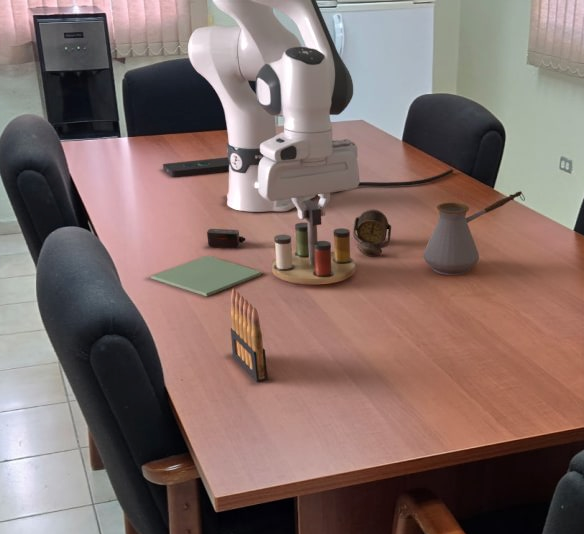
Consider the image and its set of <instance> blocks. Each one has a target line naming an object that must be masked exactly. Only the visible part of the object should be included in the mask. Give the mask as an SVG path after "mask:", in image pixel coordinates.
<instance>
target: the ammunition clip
mask: <svg viewBox="0 0 584 534" xmlns="http://www.w3.org/2000/svg"><path fill="white" fill-rule="evenodd" d="M230 295H231V296H230V306H231V307H230V310H231V311H230V319H231V328H230V339H231V340H230V341H231V349H232V350H231V351H232V358H233V359H234V360H236V362H237V363H238V364H239V365H240V366H241V367H242V368H243V370H244V371H245V372H246V373H247V374H248V375H249V376H250V377H251V378H252V379H253V380H254V381H255V383H259V382H263V381H267V380H268V379H269V377H268V368H267V358H266V357H267V356H266V349H265V348H264V344H263V343H264V342H263V333H262V330H261V322H260V317H259V313H258V310H257V308H256V307H253V304H251V303H249V302H248V300H247V299H245V297H244V296H243V295H240V292H239V291H237V290H236V289H235V288H232V290H231V294H230Z"/></svg>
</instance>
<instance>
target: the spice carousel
mask: <svg viewBox="0 0 584 534" xmlns="http://www.w3.org/2000/svg"><path fill="white" fill-rule="evenodd" d="M317 205H318V204H315V203H314V202H313V200H312V199H310V200H306V201H303V202H302V206H303V208H306V209H308V215H309V218H307V219H305V220H306V222H298V223H296V224H295V225H294V229H295V242H296V243H295V245H296V251H294V252H293V251H292V265H293V266H292V267H291V268H289V269H280V268H277V266H276V258H275V259H274V260H273V261H272V264H271V269H272V270H271V271H272V274H273V275H274V276H275V277H277V278H278V279H279V280H283V281H286V282H287V283H293V284H299V285H300V284H301V285H326V284H333V283H338V282H341V281H345V280H347V279H348V278H351V277H352V276H353V275H354V274H355V273H356V262H355V260H354V258H352V257H351V237H350V236H351V231H350V229H348V228H344V227H343V228H342V227H341V228H334V229H333V249H334V251H332V242H330V241H327V240H318V226H321V225H322V216H321V209H320V208H319V207H318V206H317Z"/></svg>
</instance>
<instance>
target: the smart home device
mask: <svg viewBox="0 0 584 534" xmlns="http://www.w3.org/2000/svg"><path fill="white" fill-rule="evenodd" d="M229 165H230V163H229V160H228V156H226V157H218V158H217V157H216V158H207V159H198V160H189V161H188V160H187V161H179V162H178V161H177V162H168V163H167V162H166V163H163V164H162V169H163V171H164V172H165V173H166V174H168V175H169V176H170V177H171V178H180V177H188V176H197V175H206V174H216V173H225V172H226V173H227V172H229Z"/></svg>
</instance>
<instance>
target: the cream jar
mask: <svg viewBox="0 0 584 534" xmlns="http://www.w3.org/2000/svg"><path fill="white" fill-rule="evenodd" d="M273 239H274V248H275V251H274V252H275V259H276V266H277V268H280V269H289V268H291V267H292V266H293V265H292V252H293V251H292V249H293V248H292V236H291V235H289V234H277V235H275V236H274V237H273Z"/></svg>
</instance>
